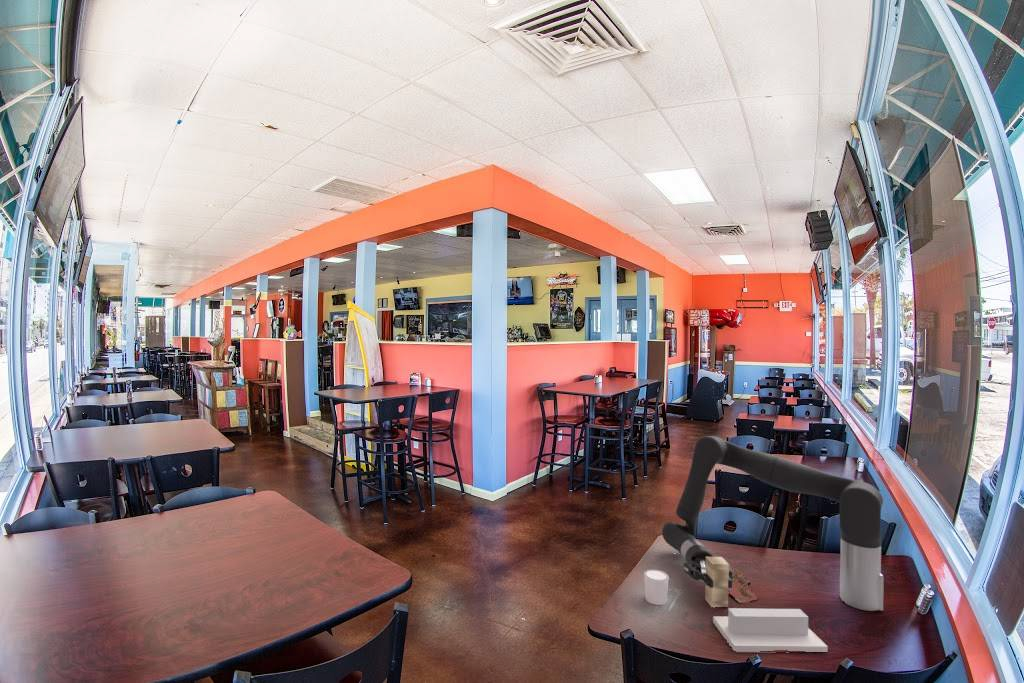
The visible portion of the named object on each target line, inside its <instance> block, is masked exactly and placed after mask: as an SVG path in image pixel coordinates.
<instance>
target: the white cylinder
mask: <svg viewBox="0 0 1024 683" xmlns="http://www.w3.org/2000/svg"><path fill="white" fill-rule="evenodd" d="M643 579H644V592H645V594H644V595H645V600H646V601H647V602H648V603H649V604H652V605H656V606H657V605H658V606H661V605H665V604H666V603H667V598H668V592H669V590H668V589H669V588H668V587H669V580H670V577H669V575H668V574H667V573H666V572H664V571H662V570H659V569H647V570H645V571H644V572H643Z"/></svg>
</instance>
